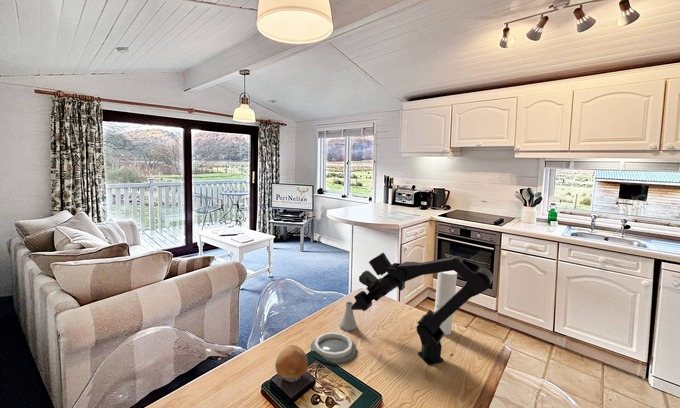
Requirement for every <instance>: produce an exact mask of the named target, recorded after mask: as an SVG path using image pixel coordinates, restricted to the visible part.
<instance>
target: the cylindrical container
mask: <svg viewBox="0 0 680 408" xmlns="http://www.w3.org/2000/svg"><path fill="white" fill-rule="evenodd" d="M457 278H458V273H457V272H455V271H454V270H452V271H446V272H439V273H437V278H436V280H437V281H436V289H435V290H436V291H435V301H434V304H435V305H434V310H433V312H435V311H437V310H438V309H439V308H440V307H442V306H443V305H444V304H445V303H446V302H447V301H448V300H449V299H450V298H451V297H452V296H454V295H455V294H456V288H457ZM453 318H454V313H453V314H452V315H451V316H449V317H448V318H447V319H446V320H445V321H444V322H443V323H442V324H441V325H440V328H441V330H442V331H443V332H444V335H443V336H447V335H448V336H449V335H451V333H452V326H453Z"/></svg>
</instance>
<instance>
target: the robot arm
mask: <svg viewBox="0 0 680 408" xmlns="http://www.w3.org/2000/svg"><path fill="white" fill-rule="evenodd" d="M368 264H369V265H370V266H371V268H372V269H373V271H374V273H376V275H377V276H382V277H380V278H377V276H376V275H374V273H372V272H371V271H369V270H365V271H363V272H361V274H360V275H359V276H358V281H359V283H361V284H362V285H365V286H366V289H365V290H367V292H368V293H367V292H366V291H364V290H360V291H359V292H358V293H357V294H355V295H354V296H353V297H354V300H355V302H353V306H352V307H351V308H352V310H353V311H359V310H360V311H363V312H366V311H367V310H369V309H370V308H371V307H372V306H373V301H375V302H378V301H379V300H380V299H382V298H384V297H386V295H387V294H389V293H390V292H392V291H394V290H395V289H396V288H398V290H399V291H401V292H402V291H403V290H404V289H405V288H406V282H408V281H411V280H413V279H416V278H418V277H420V276H426V275H431V274H438V273H439V272H446V271H452V270H454V271H455V272H457V275H459V277H461V278H462V279H463V280H464V281H466V283H465V284H463V286H462V287H461V288H460V289H459V290H458V291H457V292H455V295H454V296H452V297H451V298H450V299H449V300H448V301H447V302H446V303H445V304H444V305H443V306H442V307H440V308H439V309H438V310H437V311H435V310H434V311H435V312H434V311H432V310H431V309H429V310H428V311H427V312H426V314H423V315H422V317H420V319H419V320H418V321H417V326H416V333H417V335H418V336H419V339H420V343H421V350H420V351H418V352H417V355H418V356H419V357H420V358H421V359H422V360H423V361H424V362H425V363H426V364H427V365H429V366H430V365H434V364H440V363H443V362H445V359H444V358H443V357H441V355H442V345H443V344H442V342H441V340H442V339H443V338H444V336H445V335H444V332H443V331H442V330H441V328H440V325H441V324H442V323H443V322H444V321H445V320H446V319H447V318H448V317H449V316H451V315H452V314H453V315H454V313H455V312H456V311H457V310H459V309H460V308H461V307H462V306H463V305H464V304H465V303H466V302H468V301H469V300H470V299H471V298H473V297H476V296H478V295H480V294H482V293H484V292H485V291H487V290H488V289H489V288H490V287H491V284H492V282H493V280H494V275H493V273H492V271H491V270H490V269H489V268H487V267H483V266H480V265H478V264H476V263H474V262H472V261H469V260H468V259H465V258H463V257H462V256H461V255H460V256H459V255H454V256H452V257H451V256H450V257H446V258H439V259H434V260H430V261H425V262H424V261H422V262H416V261H404V262H401V263H399V262H394V263H391V262H390V260H389V258H388V257H387V255H386V254H385V252H381V253H380V254H379V255H377V256H376V257H374V258H372V259H371V260H370V261H368ZM383 275H384V276H383Z"/></svg>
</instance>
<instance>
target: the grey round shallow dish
mask: <svg viewBox="0 0 680 408" xmlns="http://www.w3.org/2000/svg"><path fill="white" fill-rule="evenodd" d="M311 351H316V352H317V353H319V354H320V355H322V356H323V357H324V358H326V359H327V360H329V361H331V362H333V363H335V364H334V365H341V364H345V363H347V362H350V361H351V360H353V358H354V357H355V356H356V353H357V346H356V343H355V342H354V341H353V340H352V339H351V338H350V337H349V336H347V335H346V334H343V333H340V332H335V331H334V332H333V331H332V332H331V331H330V332H325V333H321V334H320V335H319V336H317V337H316V338H315V339H313V340H312V341H311V344H310V352H311Z"/></svg>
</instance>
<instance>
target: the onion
mask: <svg viewBox="0 0 680 408" xmlns="http://www.w3.org/2000/svg"><path fill="white" fill-rule="evenodd" d="M308 364H309V363H308V355H307V354H306V353H305V351H304V350H303V349H302V348H301V347H299V346H298V345H295V344H294V345H293V344H292V345H288V346H286V347H284V348H283V349H282V350H281V351H280V352H279V353H278V356H277V357H276V361H275V365H274V366H275V371H276V374H277V375H278V376H279V375H280V376H282V377H284V378H297V377H300V376H301V375H303V374H304V373H305V372H306V373H307V371H308V367H309V365H308ZM306 373H305V374H306ZM305 374H304V375H305Z"/></svg>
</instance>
